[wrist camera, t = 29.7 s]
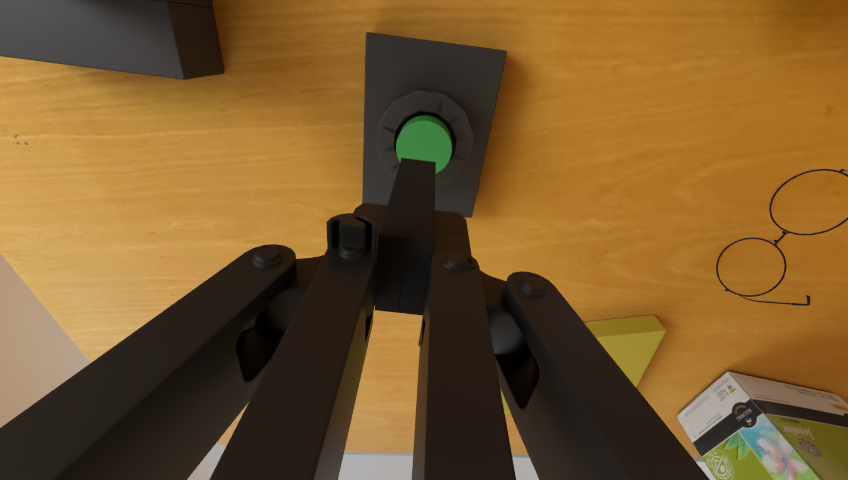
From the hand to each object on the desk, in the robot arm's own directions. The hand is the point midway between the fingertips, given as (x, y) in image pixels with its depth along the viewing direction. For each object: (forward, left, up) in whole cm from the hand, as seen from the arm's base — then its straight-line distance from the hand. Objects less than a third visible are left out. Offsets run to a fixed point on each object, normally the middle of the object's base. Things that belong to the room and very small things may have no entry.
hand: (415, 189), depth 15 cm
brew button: (0, 0, -9) cm, 9 cm away
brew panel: (0, 0, -13) cm, 13 cm away
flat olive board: (+25, +16, -13) cm, 33 cm away
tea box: (+28, +44, -13) cm, 54 cm away
